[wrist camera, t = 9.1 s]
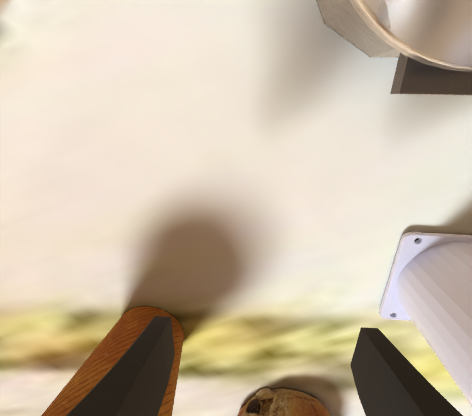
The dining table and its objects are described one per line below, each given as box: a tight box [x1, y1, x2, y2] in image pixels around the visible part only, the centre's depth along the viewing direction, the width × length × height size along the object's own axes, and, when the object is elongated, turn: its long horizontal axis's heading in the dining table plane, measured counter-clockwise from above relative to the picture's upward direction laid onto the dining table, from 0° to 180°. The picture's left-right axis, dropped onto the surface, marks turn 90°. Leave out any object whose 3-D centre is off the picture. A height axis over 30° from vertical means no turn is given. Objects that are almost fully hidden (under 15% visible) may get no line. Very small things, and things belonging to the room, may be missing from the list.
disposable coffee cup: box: [42, 306, 184, 416], centre depth 19 cm, size 10×10×12 cm
